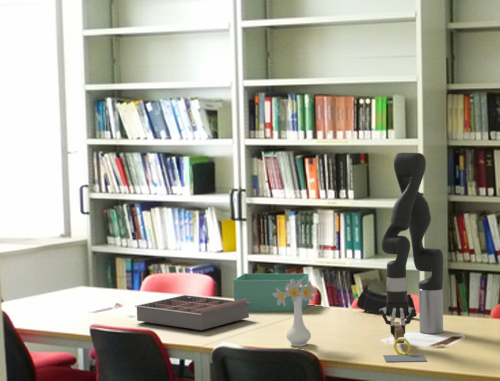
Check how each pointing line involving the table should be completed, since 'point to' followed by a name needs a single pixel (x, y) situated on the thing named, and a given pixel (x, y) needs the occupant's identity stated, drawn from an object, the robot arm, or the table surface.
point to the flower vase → (297, 310)
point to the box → (267, 290)
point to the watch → (402, 340)
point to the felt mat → (405, 358)
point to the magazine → (378, 302)
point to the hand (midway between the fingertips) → (397, 335)
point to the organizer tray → (193, 312)
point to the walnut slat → (398, 332)
